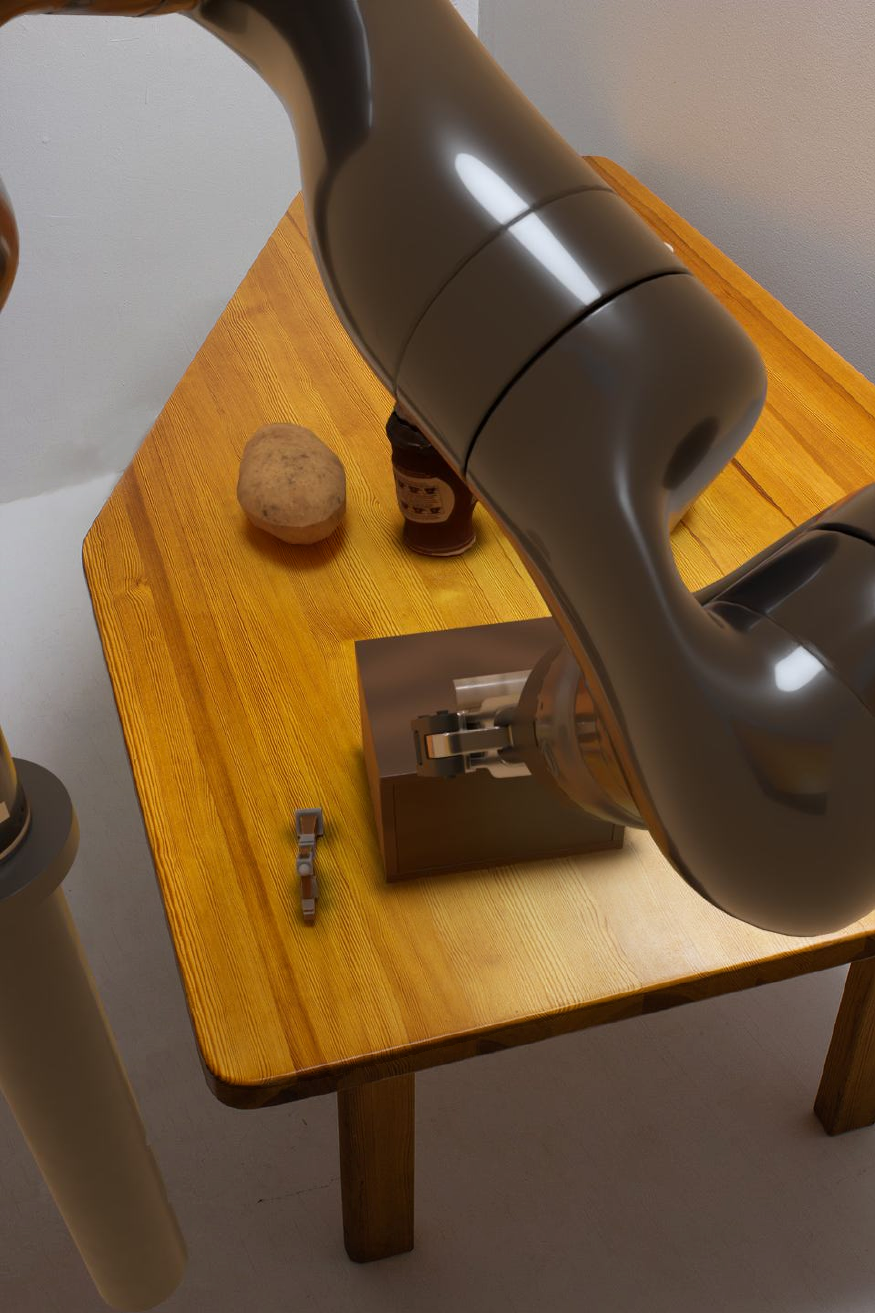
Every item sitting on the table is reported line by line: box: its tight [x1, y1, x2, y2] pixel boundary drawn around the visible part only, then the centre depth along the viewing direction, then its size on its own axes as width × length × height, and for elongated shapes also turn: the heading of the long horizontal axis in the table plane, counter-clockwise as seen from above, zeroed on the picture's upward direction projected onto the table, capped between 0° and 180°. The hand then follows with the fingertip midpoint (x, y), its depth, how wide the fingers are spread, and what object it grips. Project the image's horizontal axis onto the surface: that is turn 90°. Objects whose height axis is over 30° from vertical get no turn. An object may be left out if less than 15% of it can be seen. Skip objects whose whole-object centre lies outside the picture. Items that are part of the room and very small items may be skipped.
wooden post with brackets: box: [294, 807, 325, 921], centre depth 77 cm, size 2×8×4 cm, turn 5°
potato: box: [236, 422, 347, 545], centre depth 105 cm, size 10×14×8 cm
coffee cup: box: [384, 401, 479, 557], centre depth 102 cm, size 9×8×13 cm
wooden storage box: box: [354, 652, 626, 883], centre depth 79 cm, size 12×16×10 cm
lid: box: [353, 615, 563, 787], centre depth 74 cm, size 12×16×5 cm
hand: (551, 729), depth 58 cm, fingers open, 8 cm apart
